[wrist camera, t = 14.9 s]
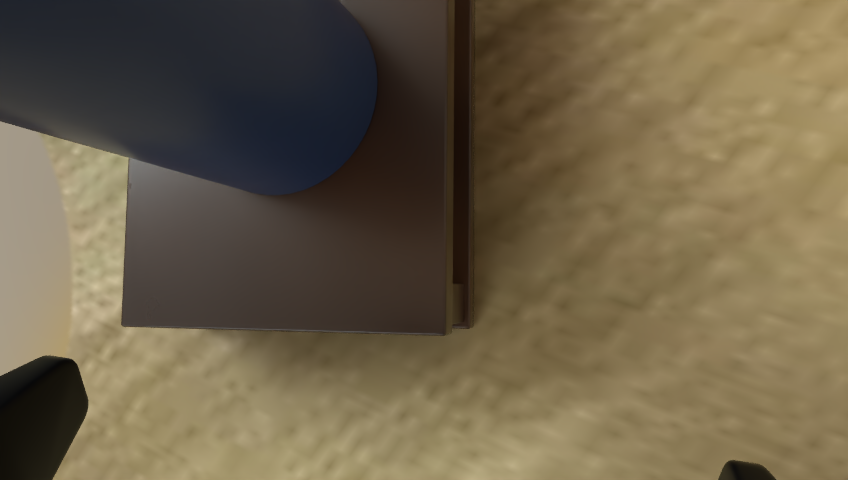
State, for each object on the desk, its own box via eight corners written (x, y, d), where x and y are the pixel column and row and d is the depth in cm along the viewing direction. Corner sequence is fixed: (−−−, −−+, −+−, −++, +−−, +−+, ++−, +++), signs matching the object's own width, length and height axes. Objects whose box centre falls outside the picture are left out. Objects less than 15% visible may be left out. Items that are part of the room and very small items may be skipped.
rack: (473, 327, 21) (445, 336, 17) (198, 320, 23) (120, 326, 20) (475, -93, 22) (449, -175, 18) (212, -55, 24) (140, -120, 21)
